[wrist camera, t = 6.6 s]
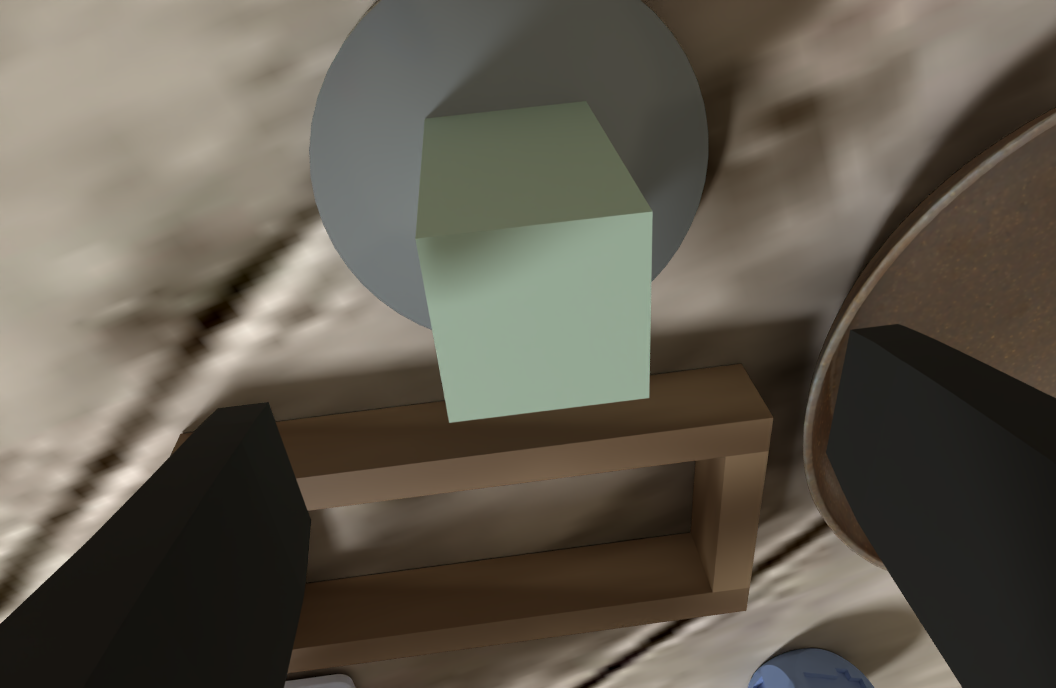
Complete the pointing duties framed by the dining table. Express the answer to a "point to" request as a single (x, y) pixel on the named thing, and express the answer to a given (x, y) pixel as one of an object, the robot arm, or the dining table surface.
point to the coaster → (491, 85)
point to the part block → (533, 262)
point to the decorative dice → (808, 671)
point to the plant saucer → (954, 290)
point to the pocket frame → (548, 577)
